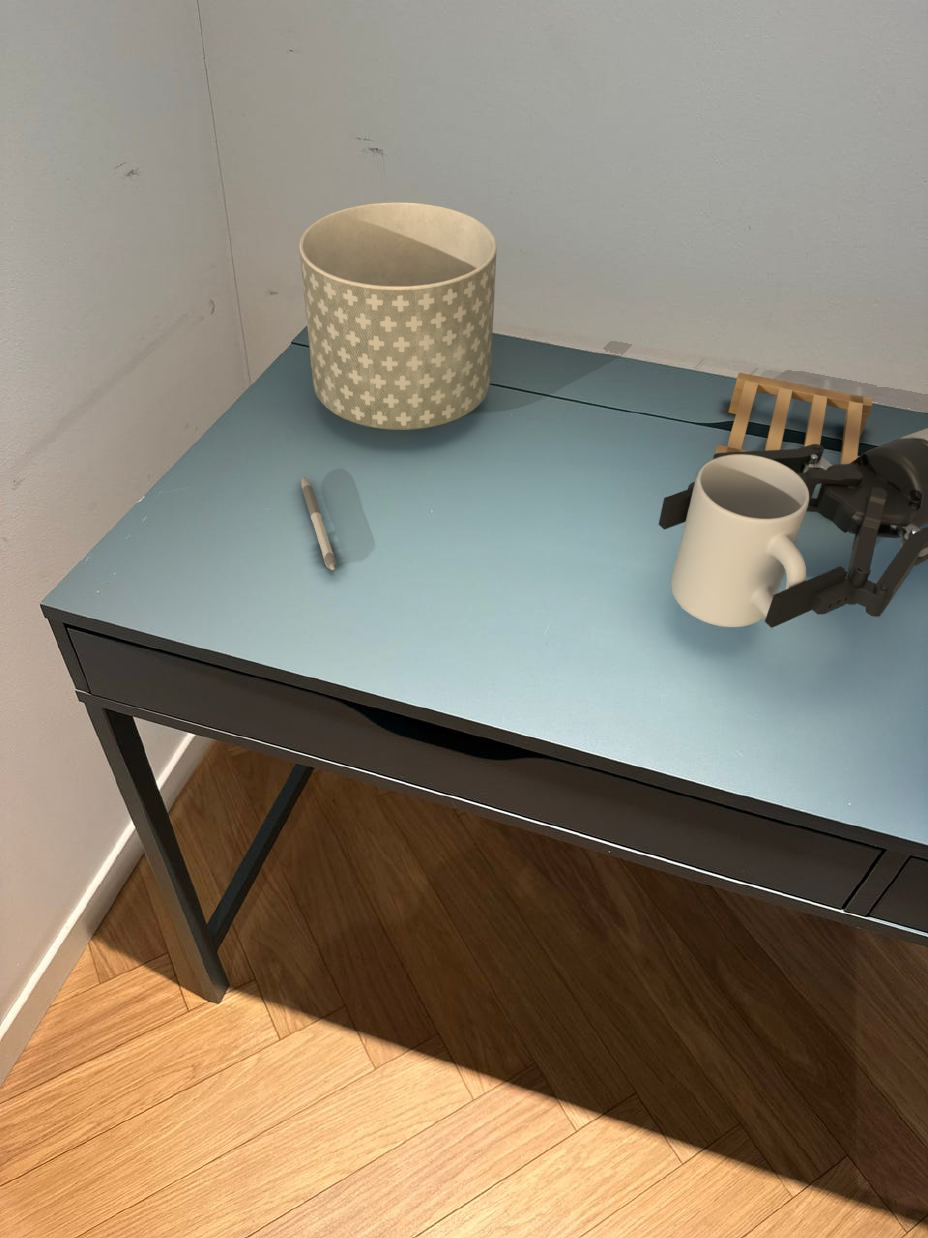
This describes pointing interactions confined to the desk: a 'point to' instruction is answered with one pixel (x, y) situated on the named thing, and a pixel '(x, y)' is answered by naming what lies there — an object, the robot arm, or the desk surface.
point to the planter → (399, 313)
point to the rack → (785, 392)
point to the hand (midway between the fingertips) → (715, 560)
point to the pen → (318, 524)
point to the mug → (740, 540)
